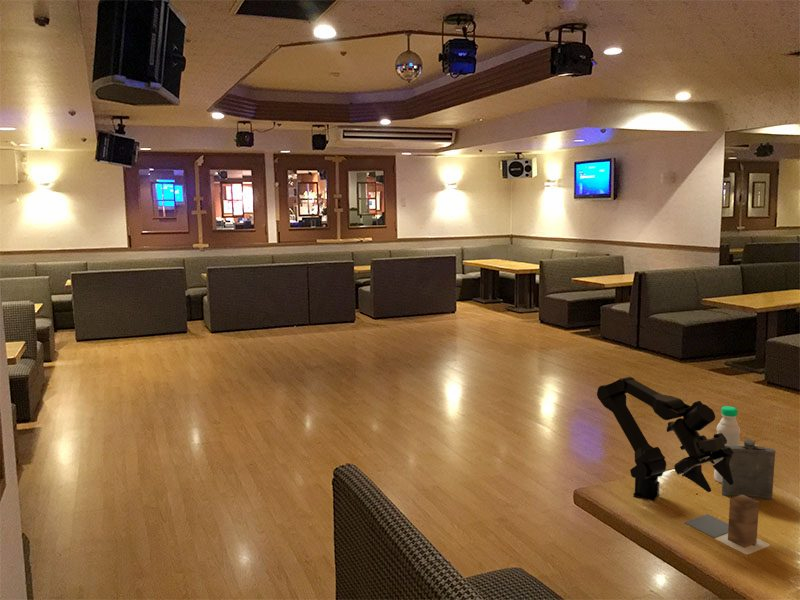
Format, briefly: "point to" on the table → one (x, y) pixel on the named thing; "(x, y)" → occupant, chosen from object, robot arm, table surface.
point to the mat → (709, 525)
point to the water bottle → (728, 431)
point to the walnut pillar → (743, 521)
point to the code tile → (747, 550)
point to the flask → (750, 471)
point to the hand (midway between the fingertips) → (721, 488)
